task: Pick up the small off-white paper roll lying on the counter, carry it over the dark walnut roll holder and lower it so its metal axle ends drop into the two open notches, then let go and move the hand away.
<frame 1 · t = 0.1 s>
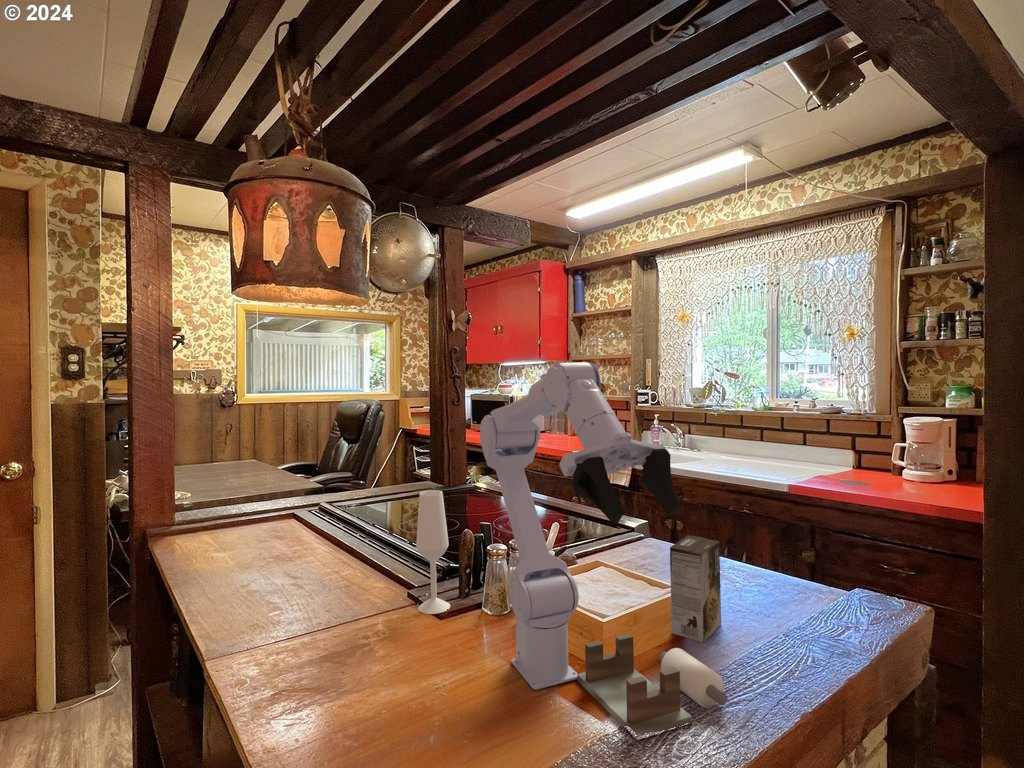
hand: (646, 514, 65), 32 cm above the counter, tool tilted 50°, fingers open, 7 cm apart
roll holder: (630, 700, 83), on the counter
paper roll: (691, 676, 84), point 2 cm above the counter
champagne flute: (434, 607, 118), on the counter
coffee box: (696, 630, 105), on the counter
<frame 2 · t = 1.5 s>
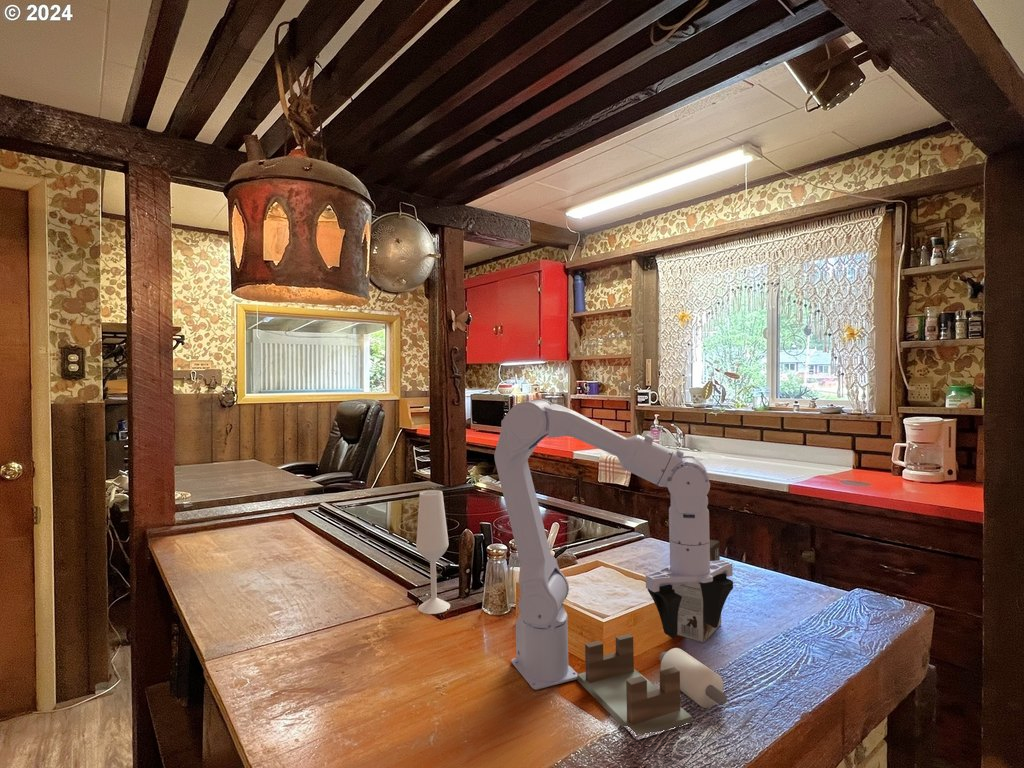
hand: (691, 630, 84), 9 cm above the counter, tool pointing down, fingers open, 7 cm apart
nothing on the counter moved.
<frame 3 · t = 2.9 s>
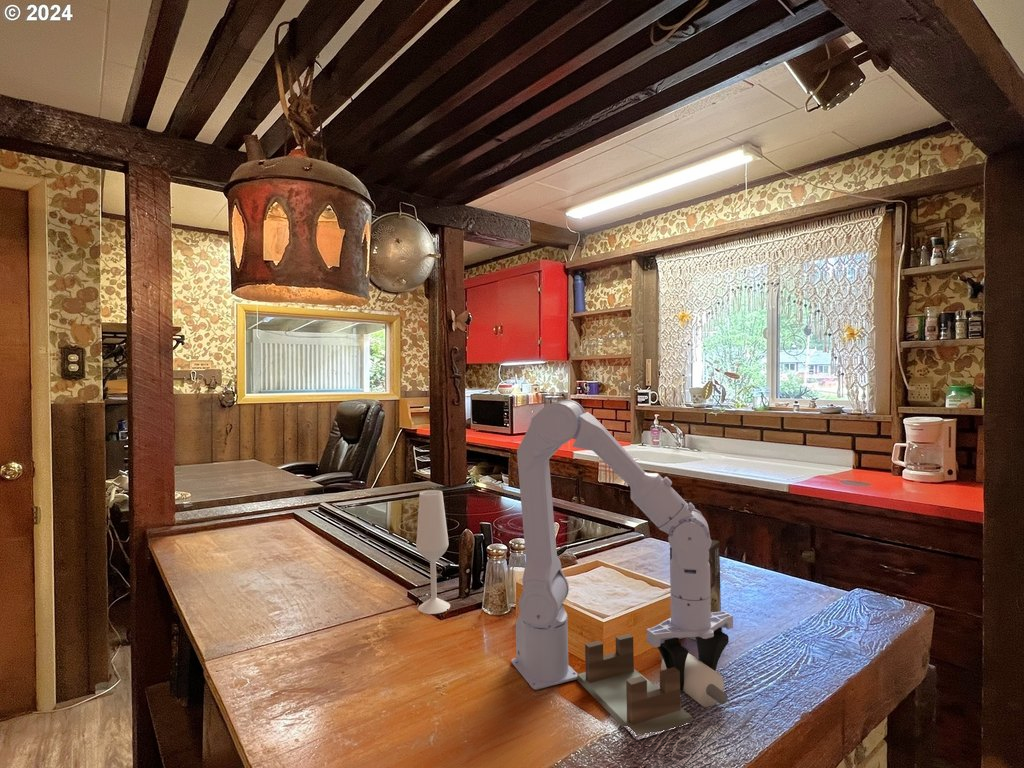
hand: (691, 682, 85), 1 cm above the counter, tool pointing down, fingers closed on paper roll, 5 cm apart
paper roll: (691, 675, 85), point 2 cm above the counter, touching gripper
everything else where it was.
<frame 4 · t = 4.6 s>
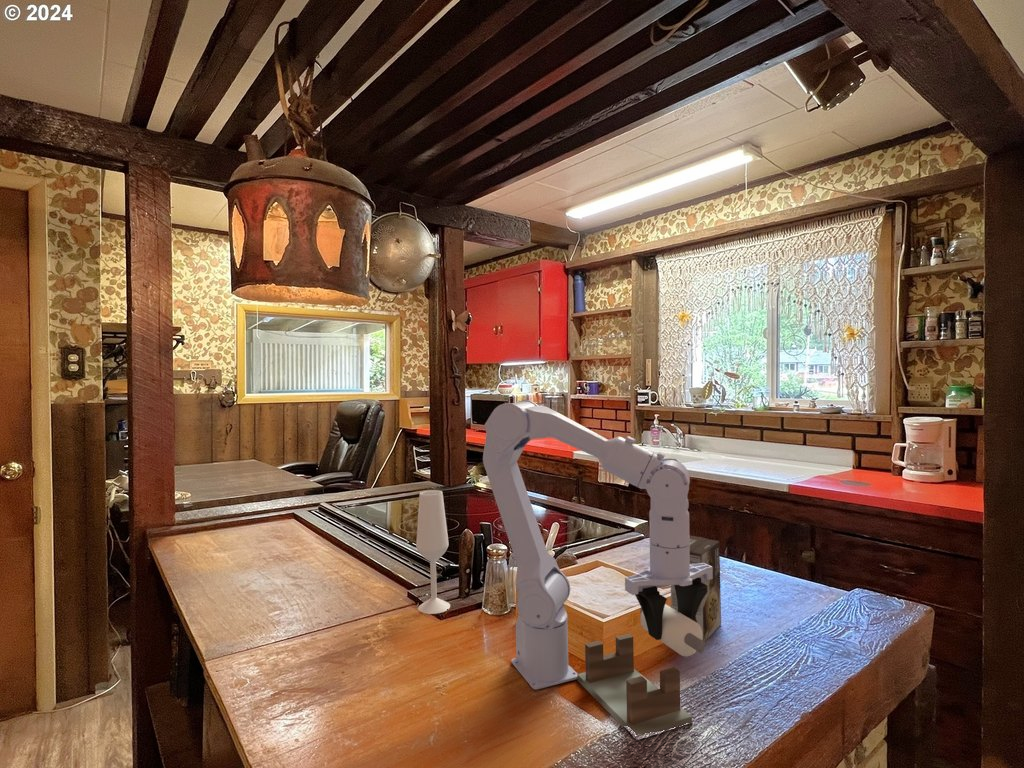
hand: (670, 633, 84), 9 cm above the counter, tool pointing down, fingers closed on paper roll, 5 cm apart
paper roll: (670, 627, 84), point 10 cm above the counter, touching gripper
everything else where it was.
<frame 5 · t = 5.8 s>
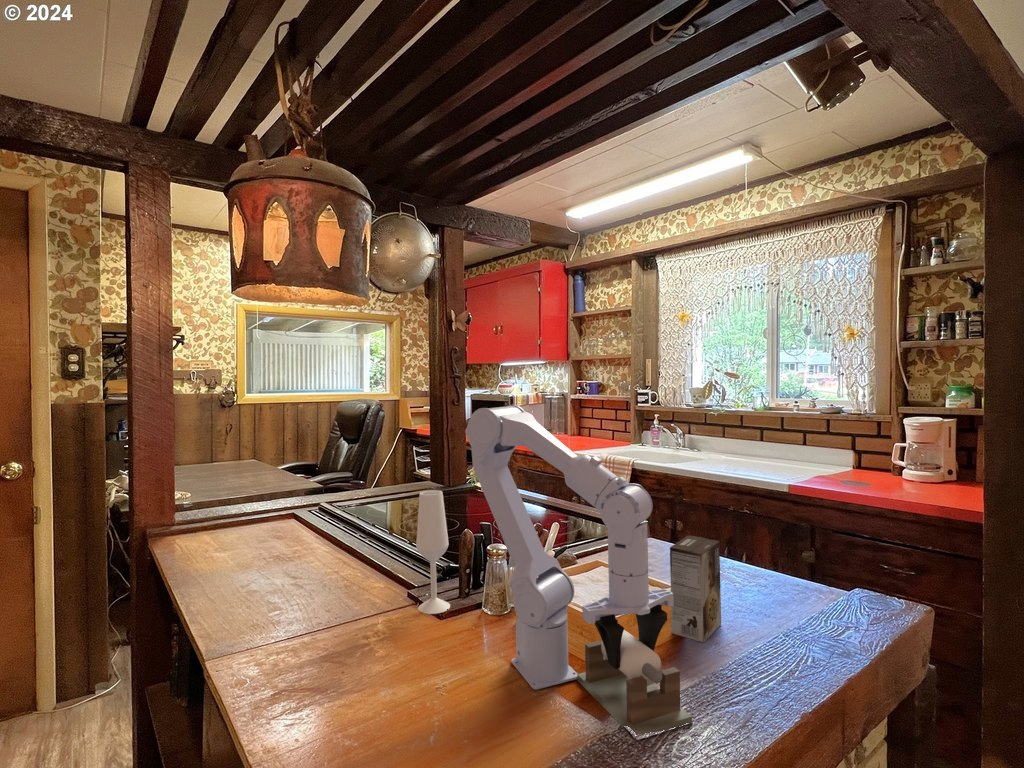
hand: (630, 661, 83), 6 cm above the counter, tool pointing down, fingers closed on paper roll, 5 cm apart
paper roll: (630, 655, 83), point 7 cm above the counter, touching gripper
everything else where it was.
when the fingers open (5 cm above the counter, at t = 6.6 s): paper roll stays where it is, resting on roll holder.
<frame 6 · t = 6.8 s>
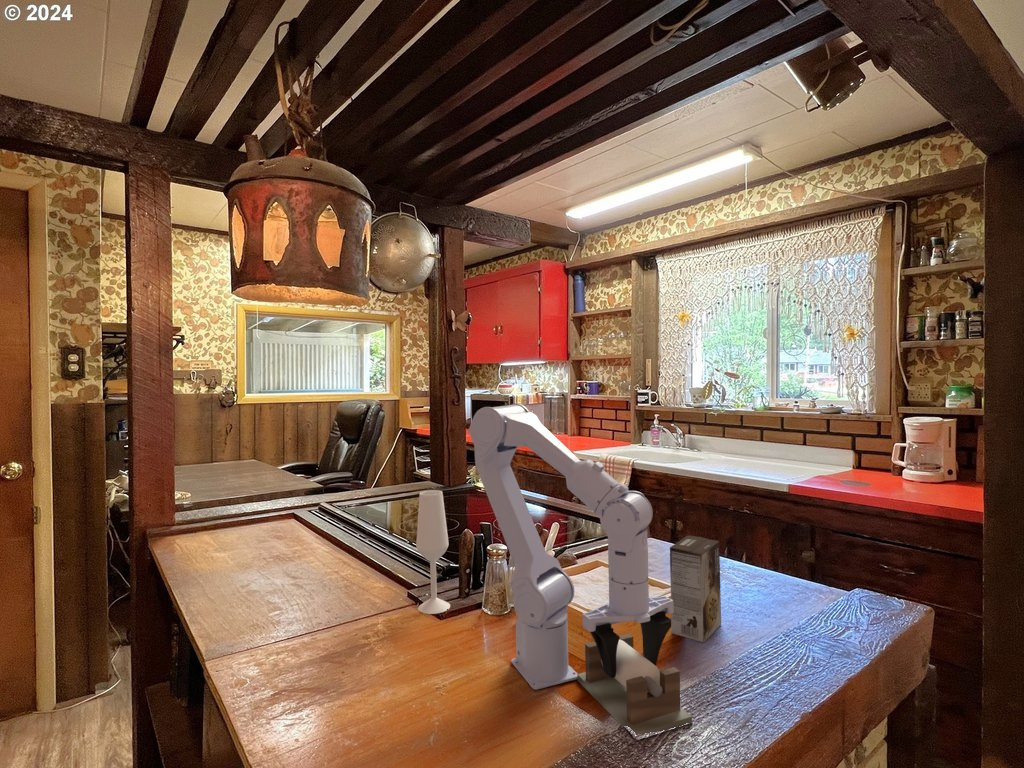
hand: (630, 668, 83), 5 cm above the counter, tool pointing down, fingers open, 6 cm apart
paper roll: (630, 668, 83), point 5 cm above the counter, tilted 5°, touching roll holder
everything else where it was.
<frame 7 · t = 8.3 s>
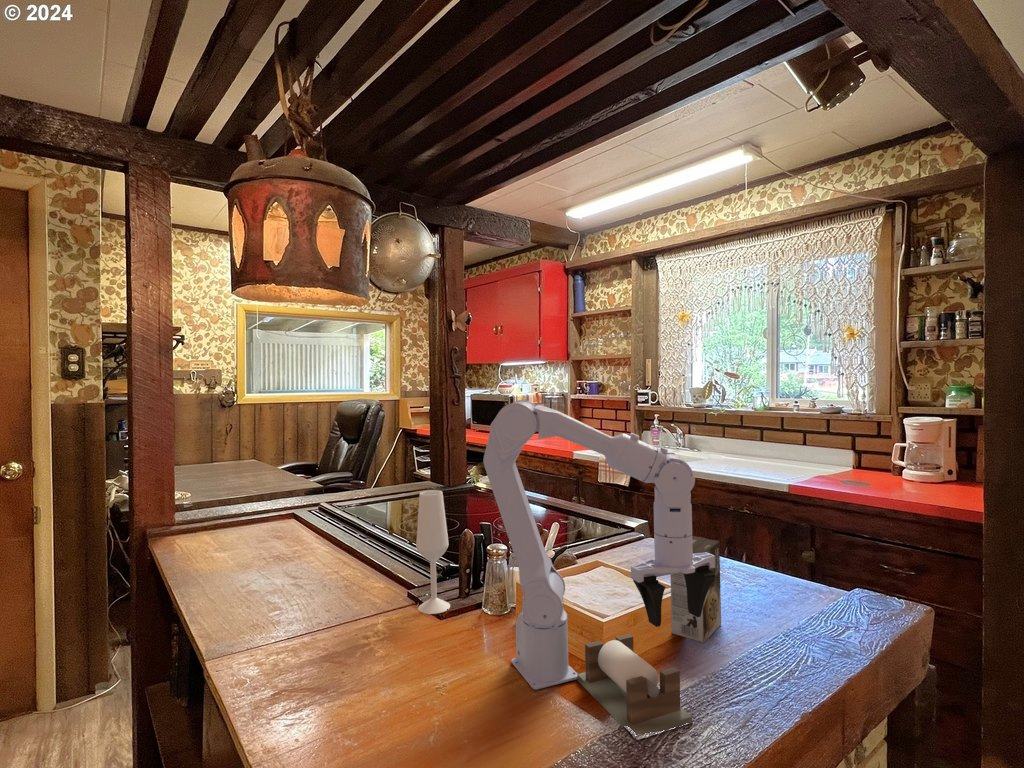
hand: (674, 619, 88), 9 cm above the counter, tool pointing down, fingers open, 7 cm apart
paper roll: (626, 669, 82), point 5 cm above the counter, tilted 45°, touching roll holder
everything else where it was.
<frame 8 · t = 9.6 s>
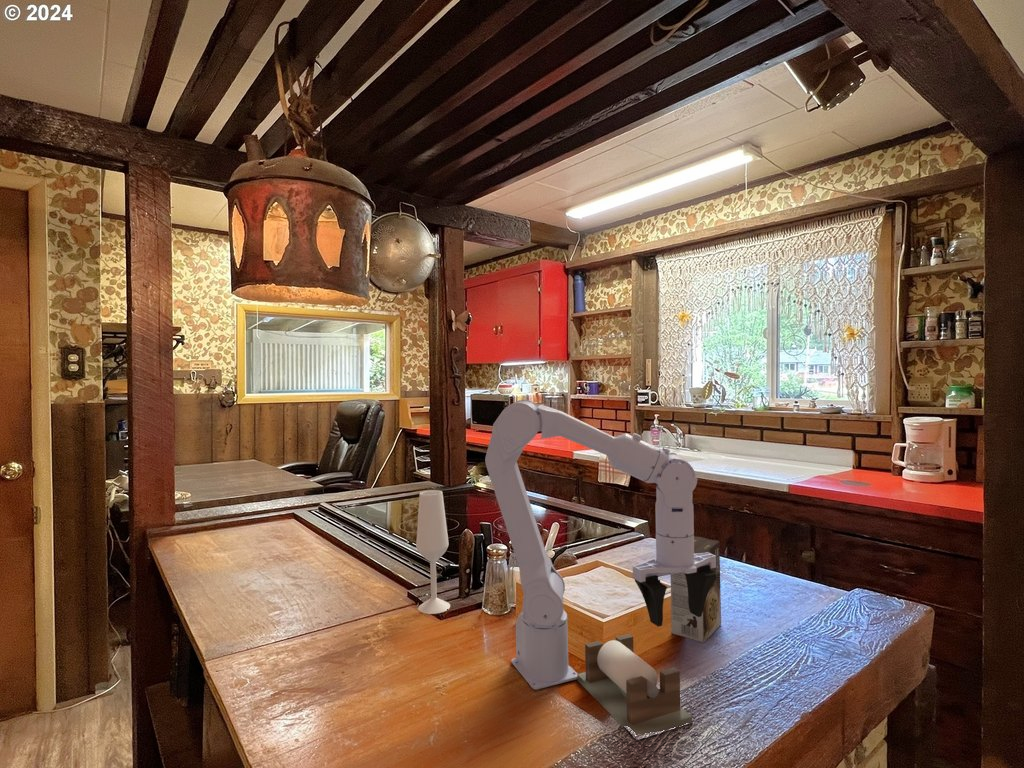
hand: (676, 618, 88), 9 cm above the counter, tool pointing down, fingers open, 7 cm apart
paper roll: (626, 669, 82), point 5 cm above the counter, tilted 54°, touching roll holder
everything else where it was.
at the end: paper roll 0.7 cm off-centre on the roll holder, point 4.8 cm above the roll holder's base; the gripper is holding nothing; paper roll touching roll holder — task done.
